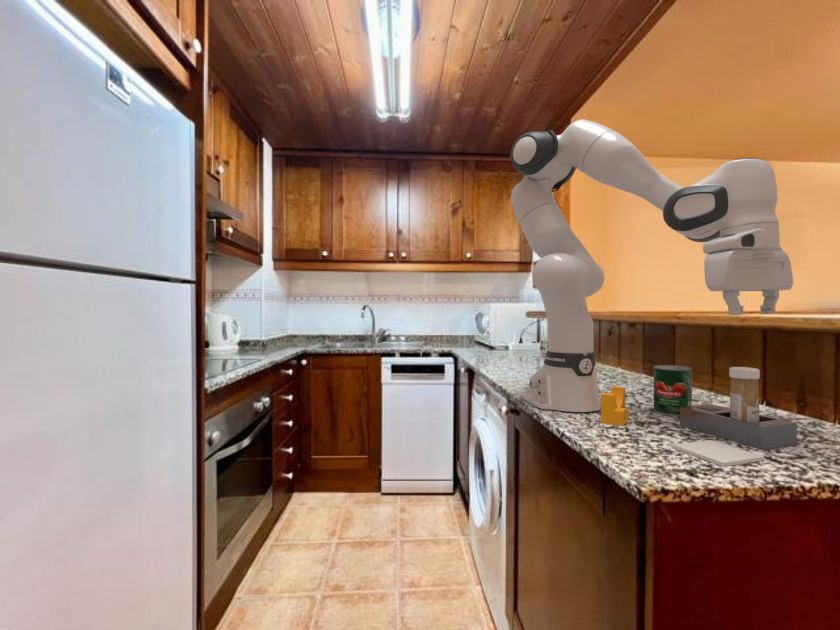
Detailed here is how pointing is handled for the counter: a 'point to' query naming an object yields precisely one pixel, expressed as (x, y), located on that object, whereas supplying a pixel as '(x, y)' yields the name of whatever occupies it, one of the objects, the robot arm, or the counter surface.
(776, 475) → the counter surface
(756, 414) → the sprinkles bottle
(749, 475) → the counter surface
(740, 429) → the grey open box
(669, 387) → the canned tomato
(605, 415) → the orange stepped block
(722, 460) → the plate
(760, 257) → the robot arm
